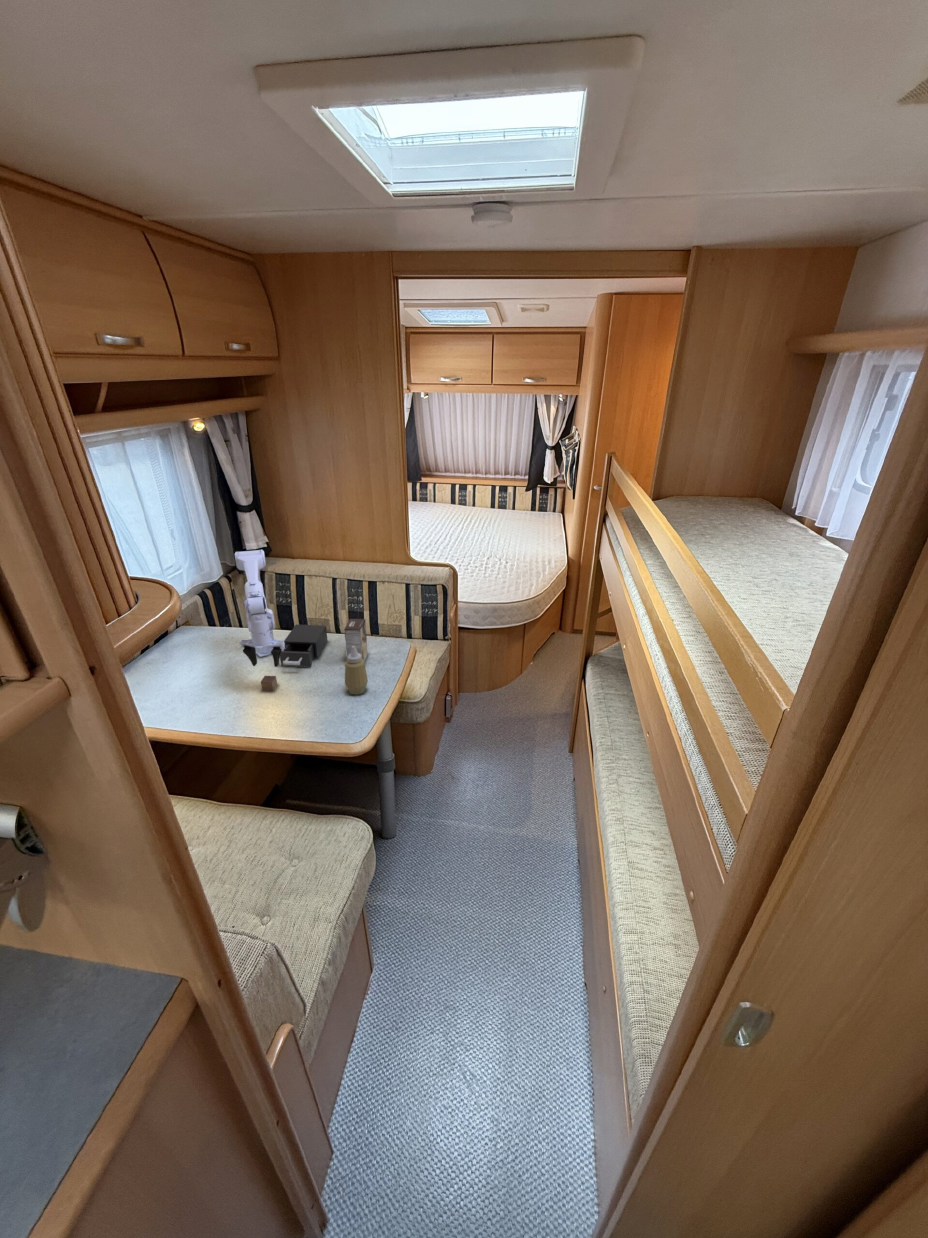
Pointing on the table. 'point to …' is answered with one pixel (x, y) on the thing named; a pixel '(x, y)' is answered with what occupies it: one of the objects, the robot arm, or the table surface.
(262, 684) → the block
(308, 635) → the dark grey drawer box
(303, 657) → the drawer
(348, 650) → the coffee box
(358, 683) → the squeeze bottle
